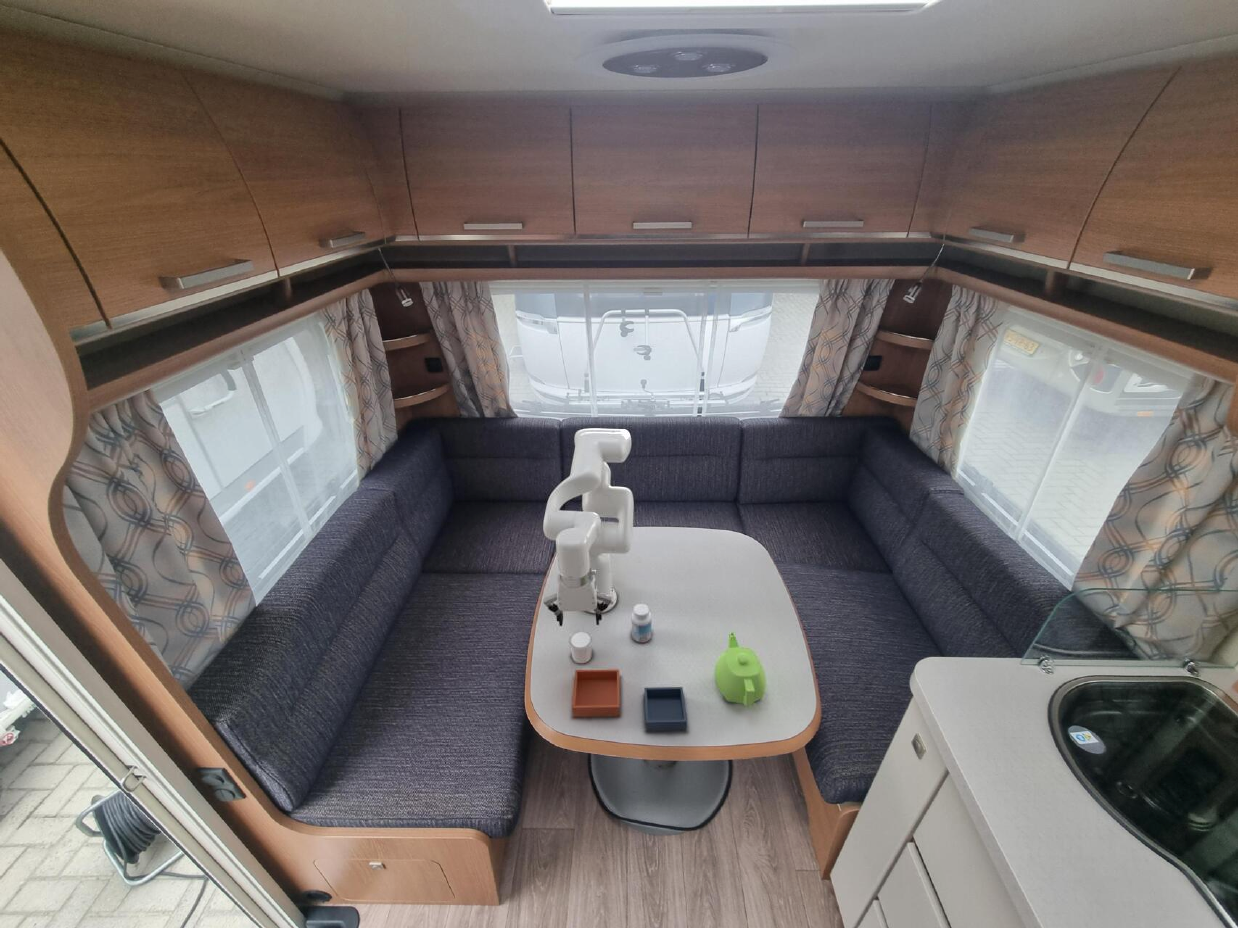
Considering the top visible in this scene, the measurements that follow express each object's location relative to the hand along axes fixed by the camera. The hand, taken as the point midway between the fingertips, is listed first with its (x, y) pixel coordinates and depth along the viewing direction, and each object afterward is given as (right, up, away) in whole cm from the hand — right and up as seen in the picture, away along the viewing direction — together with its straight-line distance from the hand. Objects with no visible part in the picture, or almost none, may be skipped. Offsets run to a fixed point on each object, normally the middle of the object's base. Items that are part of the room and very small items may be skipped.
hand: (579, 621), depth 129 cm
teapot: (+43, -20, +6) cm, 48 cm away
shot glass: (-1, -15, +16) cm, 22 cm away
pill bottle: (+17, -11, +22) cm, 30 cm away
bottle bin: (+22, -24, 0) cm, 33 cm away
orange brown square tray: (+4, -22, +4) cm, 23 cm away
